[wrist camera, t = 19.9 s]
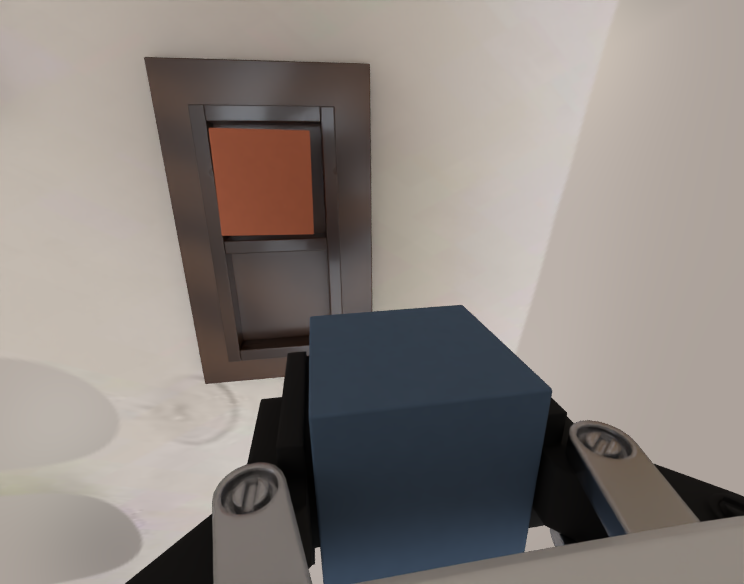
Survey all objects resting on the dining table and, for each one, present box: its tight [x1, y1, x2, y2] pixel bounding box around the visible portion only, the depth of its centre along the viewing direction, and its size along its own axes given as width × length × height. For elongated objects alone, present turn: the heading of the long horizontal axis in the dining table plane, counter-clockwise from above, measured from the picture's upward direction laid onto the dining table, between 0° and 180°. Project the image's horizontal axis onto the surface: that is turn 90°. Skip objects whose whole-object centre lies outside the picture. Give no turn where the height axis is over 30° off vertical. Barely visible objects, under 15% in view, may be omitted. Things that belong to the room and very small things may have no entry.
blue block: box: [309, 305, 552, 584], centre depth 10 cm, size 5×5×4 cm
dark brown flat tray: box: [144, 57, 372, 384], centre depth 23 cm, size 20×12×2 cm, turn 1°
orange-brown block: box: [209, 128, 314, 236], centre depth 20 cm, size 5×5×4 cm
